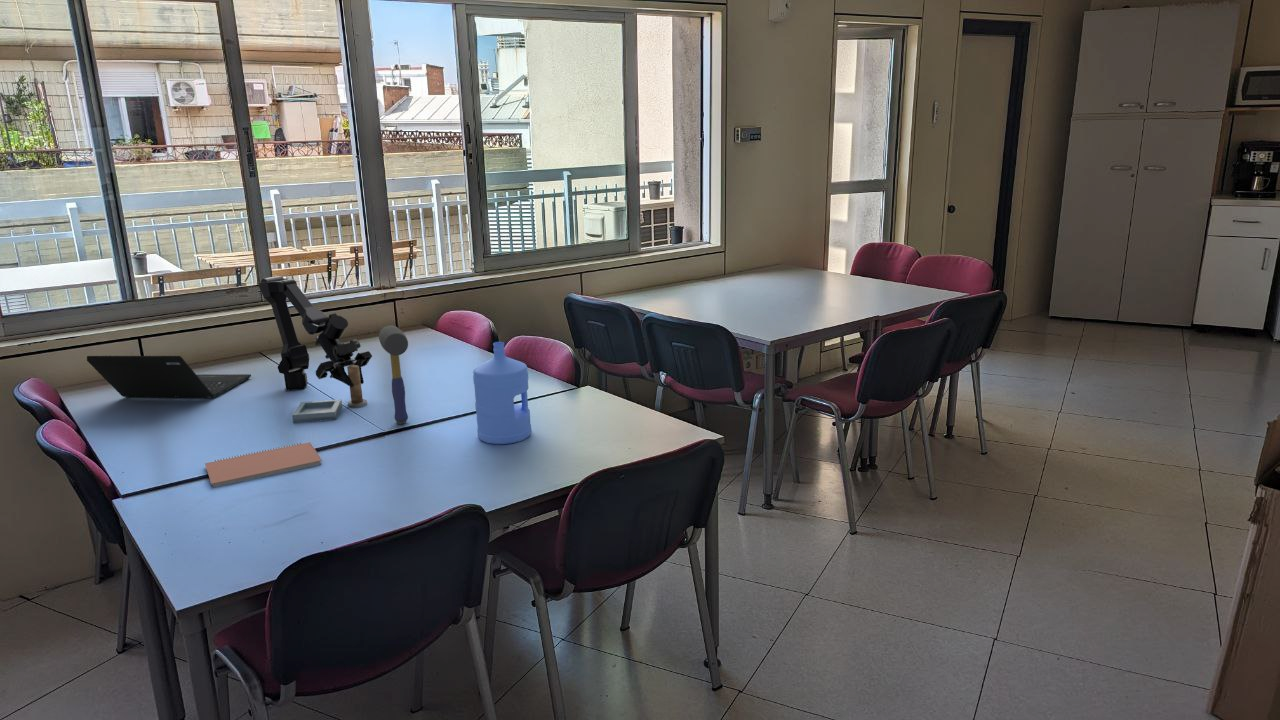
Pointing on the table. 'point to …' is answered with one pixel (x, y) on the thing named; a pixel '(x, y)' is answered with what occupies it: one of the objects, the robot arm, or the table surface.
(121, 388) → the laptop
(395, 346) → the rubber mallet
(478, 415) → the water jug
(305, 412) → the tray
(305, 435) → the table surface
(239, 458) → the notebook
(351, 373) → the wooden post on disc
